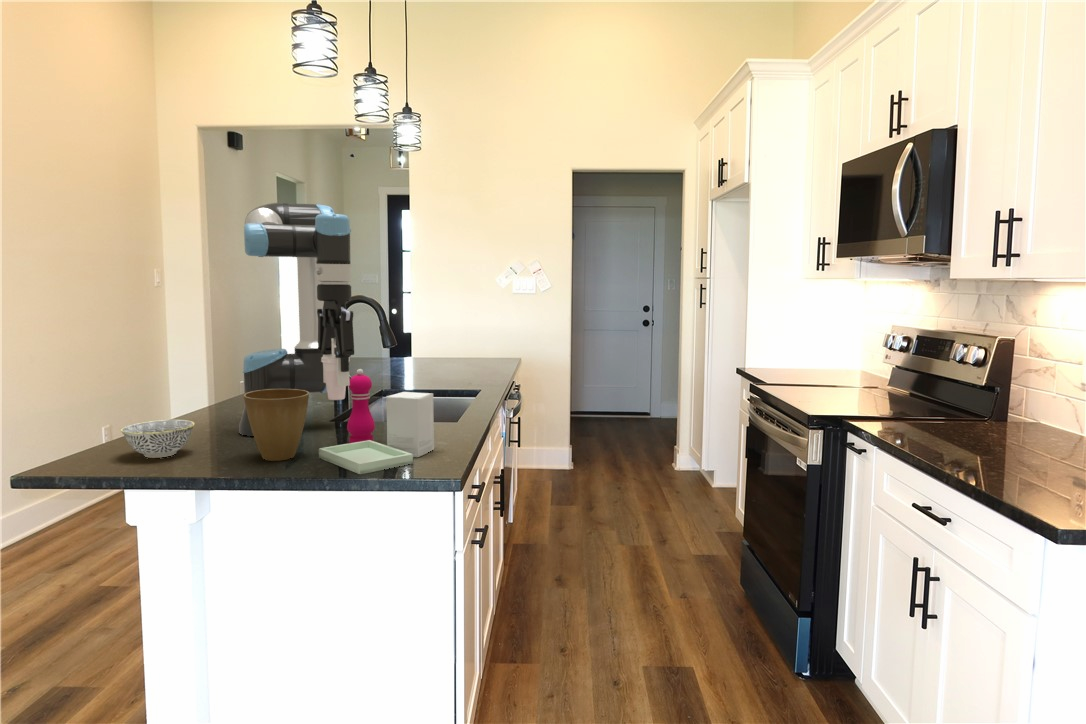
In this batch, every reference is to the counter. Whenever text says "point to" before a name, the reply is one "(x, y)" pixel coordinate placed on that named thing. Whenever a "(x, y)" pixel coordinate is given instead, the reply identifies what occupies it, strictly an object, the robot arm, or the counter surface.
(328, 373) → the smoothie
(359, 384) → the pepper mill
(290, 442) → the plant pot
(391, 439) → the supplement box
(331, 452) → the tray
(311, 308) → the robot arm
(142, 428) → the bowl
